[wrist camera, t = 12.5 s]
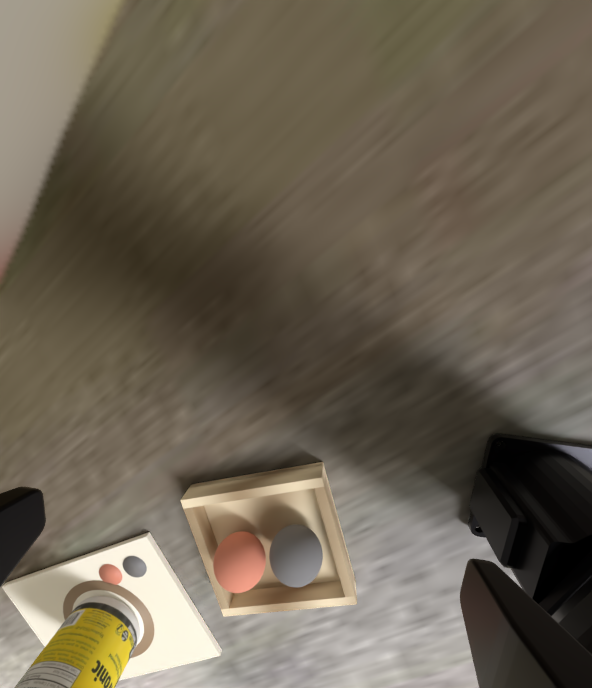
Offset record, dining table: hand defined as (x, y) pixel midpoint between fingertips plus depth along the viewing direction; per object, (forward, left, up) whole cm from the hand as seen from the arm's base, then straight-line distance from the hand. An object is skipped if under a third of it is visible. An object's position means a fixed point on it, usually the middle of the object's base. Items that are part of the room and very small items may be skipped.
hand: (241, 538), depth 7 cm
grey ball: (-1, +11, -13) cm, 17 cm away
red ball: (+3, +13, -13) cm, 18 cm away
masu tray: (+1, +12, -13) cm, 18 cm away
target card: (+13, +22, -13) cm, 29 cm away
